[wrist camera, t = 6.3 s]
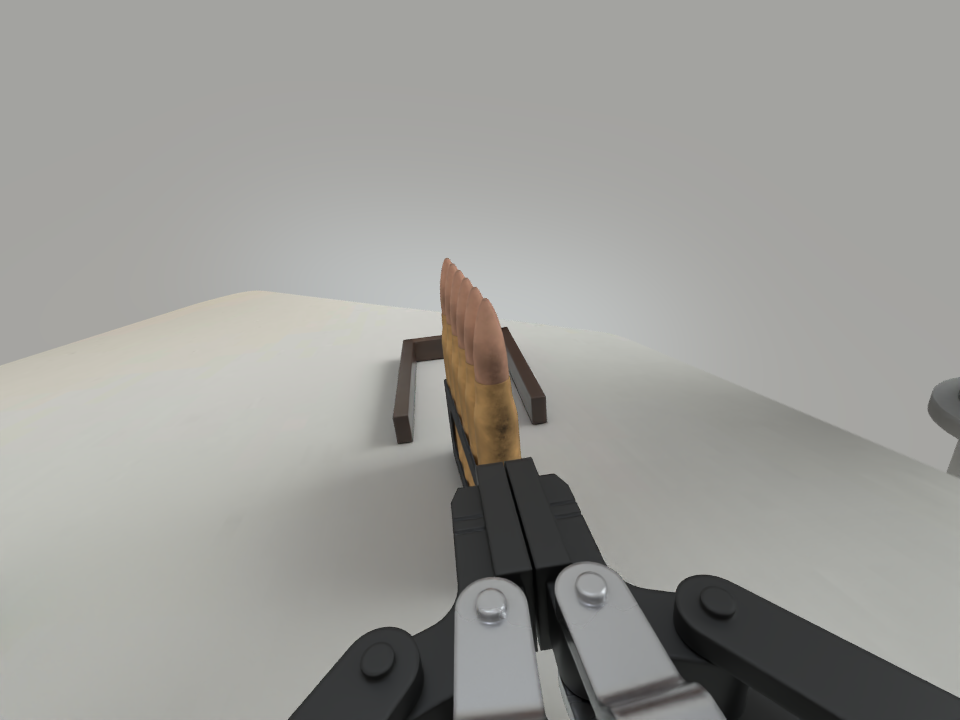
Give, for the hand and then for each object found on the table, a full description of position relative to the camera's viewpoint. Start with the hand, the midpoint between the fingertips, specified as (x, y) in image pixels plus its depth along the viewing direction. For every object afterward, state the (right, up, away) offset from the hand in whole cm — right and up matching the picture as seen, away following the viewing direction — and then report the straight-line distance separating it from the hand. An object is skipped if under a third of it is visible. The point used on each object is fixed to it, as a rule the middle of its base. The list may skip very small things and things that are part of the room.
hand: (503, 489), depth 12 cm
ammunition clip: (0, -4, +11) cm, 12 cm away
